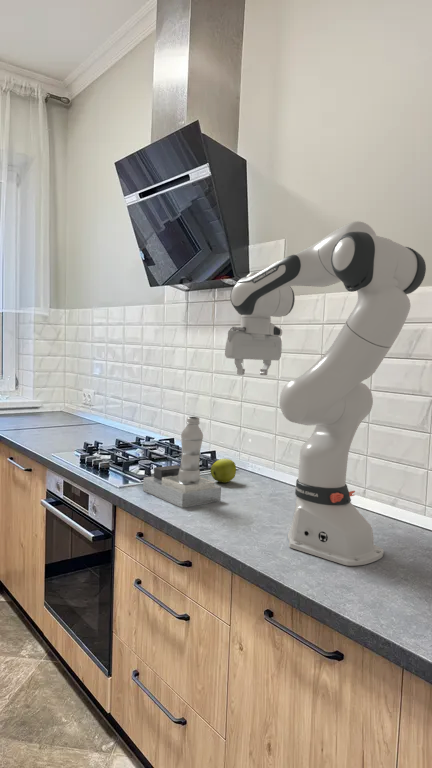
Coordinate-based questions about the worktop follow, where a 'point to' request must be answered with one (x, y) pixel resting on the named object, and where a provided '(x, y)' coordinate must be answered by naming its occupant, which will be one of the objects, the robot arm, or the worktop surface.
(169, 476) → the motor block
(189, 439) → the plastic bottle
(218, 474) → the apple
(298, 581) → the worktop surface
